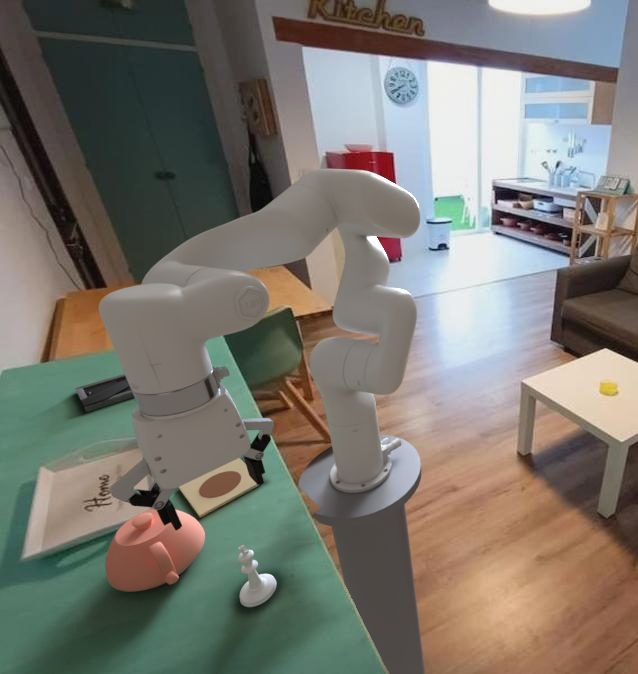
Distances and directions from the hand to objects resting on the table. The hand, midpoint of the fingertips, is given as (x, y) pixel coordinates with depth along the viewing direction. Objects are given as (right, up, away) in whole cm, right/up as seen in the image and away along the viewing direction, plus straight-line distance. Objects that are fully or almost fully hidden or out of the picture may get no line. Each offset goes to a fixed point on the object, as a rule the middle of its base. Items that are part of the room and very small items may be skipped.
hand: (218, 500), depth 55 cm
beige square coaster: (-19, -8, +28) cm, 34 cm away
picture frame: (-67, +8, +59) cm, 89 cm away
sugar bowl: (-17, -16, +12) cm, 26 cm away
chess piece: (0, -18, +9) cm, 20 cm away
